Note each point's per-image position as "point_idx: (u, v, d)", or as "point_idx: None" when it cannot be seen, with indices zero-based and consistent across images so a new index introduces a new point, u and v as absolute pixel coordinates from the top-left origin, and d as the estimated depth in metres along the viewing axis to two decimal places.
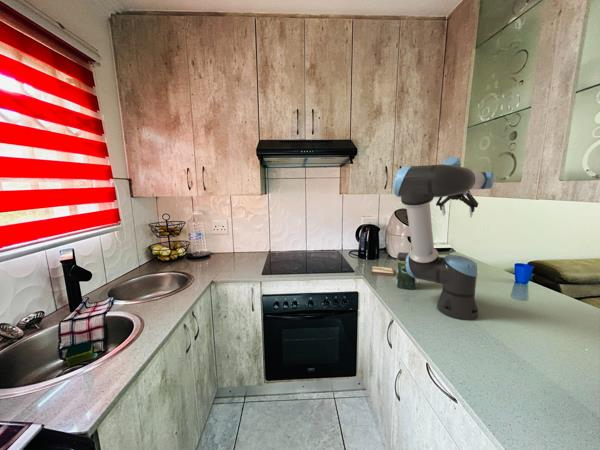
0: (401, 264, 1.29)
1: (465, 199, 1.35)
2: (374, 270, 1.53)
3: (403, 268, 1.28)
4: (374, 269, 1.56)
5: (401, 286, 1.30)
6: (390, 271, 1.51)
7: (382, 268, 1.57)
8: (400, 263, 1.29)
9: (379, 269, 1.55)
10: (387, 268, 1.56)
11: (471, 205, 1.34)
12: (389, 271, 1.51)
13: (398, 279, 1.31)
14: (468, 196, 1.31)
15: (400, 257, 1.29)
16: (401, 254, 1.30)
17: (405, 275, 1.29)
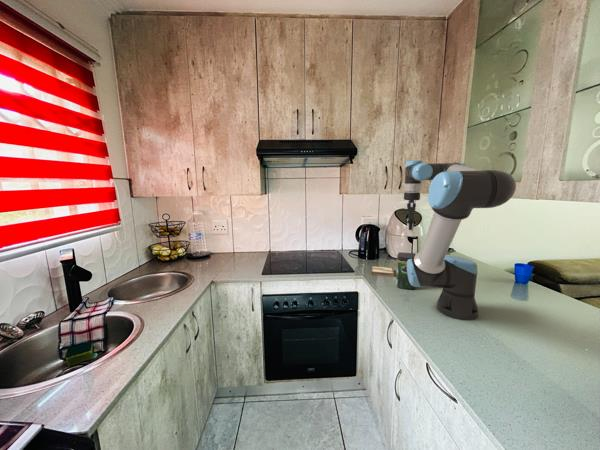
0: (401, 264, 1.29)
1: None
2: (374, 270, 1.53)
3: (403, 268, 1.28)
4: (374, 269, 1.56)
5: (401, 286, 1.30)
6: (390, 271, 1.51)
7: (382, 268, 1.57)
8: (400, 263, 1.29)
9: (379, 269, 1.55)
10: (387, 268, 1.56)
11: None
12: (389, 271, 1.51)
13: (398, 279, 1.31)
14: None
15: (400, 257, 1.29)
16: (401, 254, 1.30)
17: (405, 275, 1.29)
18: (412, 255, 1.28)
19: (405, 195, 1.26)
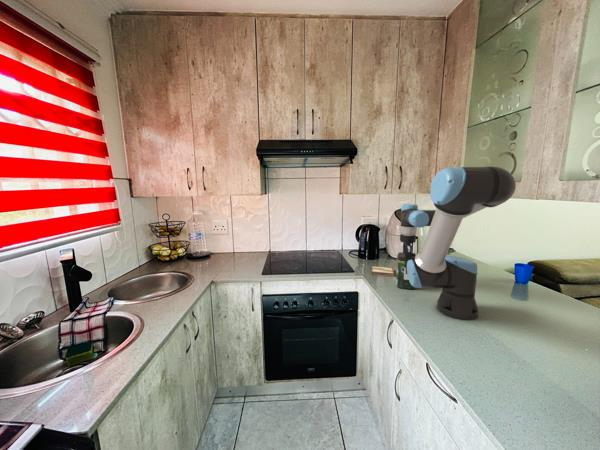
0: (401, 264, 1.29)
1: None
2: (374, 270, 1.53)
3: (403, 268, 1.28)
4: (374, 269, 1.56)
5: (401, 286, 1.30)
6: (390, 271, 1.51)
7: (382, 268, 1.57)
8: (400, 263, 1.29)
9: (379, 269, 1.55)
10: (387, 268, 1.56)
11: None
12: (389, 271, 1.51)
13: (398, 279, 1.31)
14: None
15: (400, 257, 1.29)
16: (401, 254, 1.30)
17: None
18: (412, 255, 1.28)
19: (402, 237, 1.28)
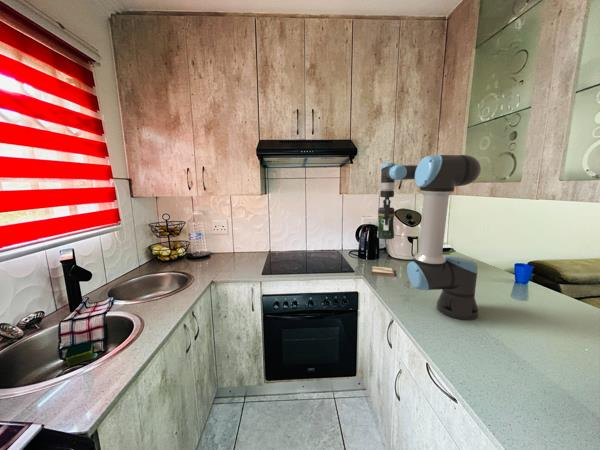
0: (381, 217, 1.45)
1: None
2: (374, 270, 1.53)
3: (383, 220, 1.45)
4: (374, 269, 1.56)
5: (381, 237, 1.47)
6: (390, 271, 1.51)
7: (382, 268, 1.57)
8: (380, 216, 1.45)
9: (379, 269, 1.55)
10: (387, 268, 1.56)
11: None
12: (389, 271, 1.51)
13: (379, 231, 1.47)
14: None
15: (380, 210, 1.45)
16: (381, 208, 1.46)
17: None
18: (391, 208, 1.44)
19: (381, 193, 1.44)
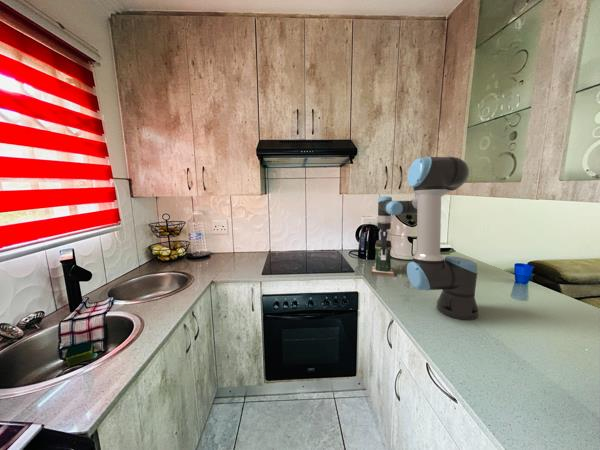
0: (378, 249, 1.50)
1: None
2: (374, 270, 1.53)
3: (380, 253, 1.50)
4: (374, 269, 1.56)
5: (378, 269, 1.51)
6: (390, 271, 1.51)
7: None
8: (377, 249, 1.50)
9: None
10: None
11: None
12: (389, 271, 1.51)
13: (376, 263, 1.52)
14: None
15: (377, 243, 1.50)
16: (378, 241, 1.51)
17: None
18: (387, 242, 1.49)
19: (378, 225, 1.49)
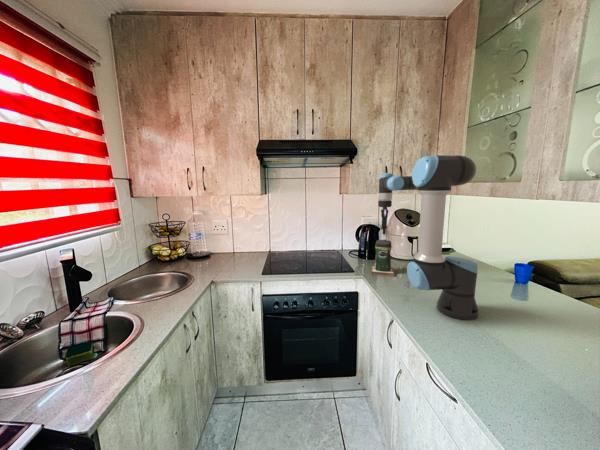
0: (378, 250, 1.50)
1: None
2: (374, 270, 1.53)
3: (380, 253, 1.50)
4: (374, 269, 1.56)
5: (378, 269, 1.51)
6: (390, 271, 1.51)
7: None
8: (377, 249, 1.50)
9: None
10: None
11: None
12: (389, 271, 1.51)
13: (376, 263, 1.52)
14: None
15: (377, 244, 1.50)
16: (378, 241, 1.51)
17: (381, 259, 1.50)
18: (387, 242, 1.49)
19: (379, 203, 1.47)
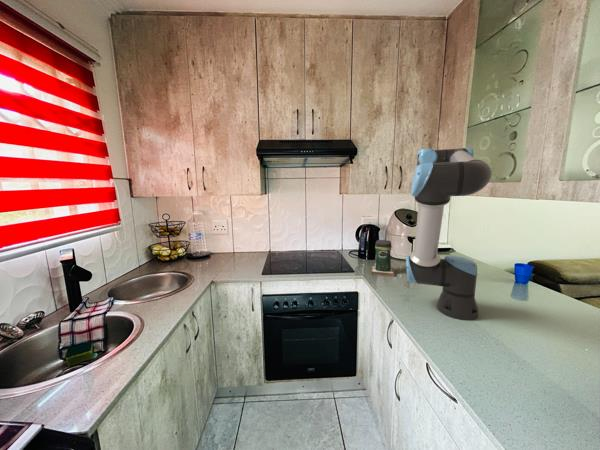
0: (378, 250, 1.50)
1: None
2: (374, 270, 1.53)
3: (380, 253, 1.50)
4: (374, 269, 1.56)
5: (378, 269, 1.51)
6: (390, 271, 1.51)
7: None
8: (377, 249, 1.50)
9: None
10: None
11: None
12: (389, 271, 1.51)
13: (376, 263, 1.52)
14: None
15: (377, 244, 1.50)
16: (378, 241, 1.51)
17: (381, 259, 1.50)
18: (387, 242, 1.49)
19: None
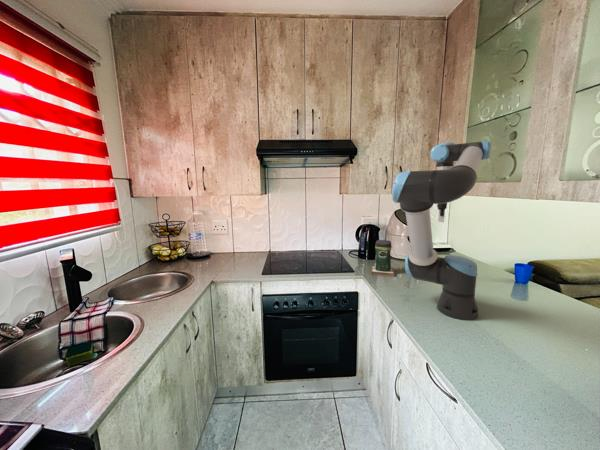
0: (378, 250, 1.50)
1: None
2: (374, 270, 1.53)
3: (380, 253, 1.50)
4: (374, 269, 1.56)
5: (378, 269, 1.51)
6: (390, 271, 1.51)
7: None
8: (377, 249, 1.50)
9: None
10: None
11: None
12: (389, 271, 1.51)
13: (376, 263, 1.52)
14: None
15: (377, 244, 1.50)
16: (378, 241, 1.51)
17: (381, 259, 1.50)
18: (387, 242, 1.49)
19: None
